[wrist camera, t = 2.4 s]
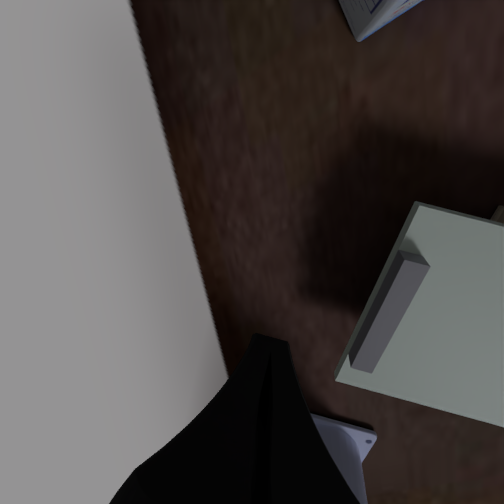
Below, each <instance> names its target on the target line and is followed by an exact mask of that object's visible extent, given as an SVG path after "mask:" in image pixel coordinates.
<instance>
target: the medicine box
mask: <svg viewBox="0 0 504 504" xmlns="http://www.w3.org/2000/svg"><path fill="white" fill-rule="evenodd" d="M421 1H423V0H339V2H340V5H341V7H342V9H343V12H344V14H345V16H346V19H347V21H348V24H349V26H350V28H351V30H352V33H353V35H354V37H355V40H356V41H358V42H360V41H362V40H364V39H365V38H367V37H368V36H370V35H371V34H373V33H374V32H376V31H377V30H379V29H380V28H382V27H383V26H385V25H386V24H388V23H389V22H391V21H392V20H394V19H395V18H397V17H398V16H400V15H401V14H403V13H404V12H406V11H408V10H409V9H411V8H412V7H414V6H415V5H417V4H418V3H420V2H421Z"/></svg>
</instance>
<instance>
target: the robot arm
mask: <svg viewBox="0 0 504 504" xmlns="http://www.w3.org/2000/svg"><path fill="white" fill-rule="evenodd" d="M376 440H377V435H376V432H375V431H372V430H369V429H365V428H362V427H358V426H355V425H351V424H347V423H344V422H340V421H337V420H333V419H329V418H326V417H322V416H319V415H315V414H311V413H310V411H309V409H308V406H307V404H306V401H305V398H304V396H303V393H302V390H301V387H300V384H299V381H298V378H297V375H296V372H295V368H294V364H293V361H292V356H291V352H290V347H289V344H288V342H287V341H283V340H280V339H276V338H272V337H269V336H265V335H261V334H258V333H255V334H253V335H252V339H251V342H250V344H249V346H248V349H247V351H246V352H245V354H244V356H243V358H242V359H241V361H240V363H239V364H238V366H237V367H236V369H235V370H234V372H233V373H232V375H231V376H230V377H229V379H228V380H227V381H226V383H225V384H224V385H223V387H222V388H221V390H220V391H219V392H218V393H217V394H216V395H215V397H214V398H213V399H212V400H211V401H210V402H209V403H208V405H207V406H206V407H205V408H204V409H203V410H202V411H201V412H200V413H199V414H198V415H197V416H196V417H195V418H194V419H193V420H192V421H191V422H190V423H189V424H188V426H186V427H185V428H184V429H183V430H182V431H181V432H180V433H178V434H177V435H176V436H175V437H174V438H173V439H172V440H171V441H169V442H168V443H167V444H166V445H165V446H164V447H163V448H161V449H160V450H159V451H158V452H156V453H155V454H154V455H152V456H151V457H150V458H149V459H147V460H146V461H145V462H143V463H142V464H141V465H139V466H138V467H137V468H136V469H135V470H134V471H133V472H132V474H131V475H130V476H129V477H128V478H127V480H126V481H125V482H124V483H123V485H122V486H121V487H120V489H119V490H118V491H117V493H116V494H115V496H114V497H113V499H112V500H111V502H110V503H109V504H368V503H367V497H366V491H365V484H364V478H363V471H362V465H361V463H362V461H363V460H364V458H365V457H366V455H367V454H368V452H369V450H370V449H371V447H372V446H373V444H374V443H375V441H376Z"/></svg>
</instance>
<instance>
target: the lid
mask: <svg viewBox="0 0 504 504" xmlns="http://www.w3.org/2000/svg"><path fill="white" fill-rule="evenodd" d="M334 374H335V381H338V382H342V383H345V384H349V385H353V386H356V387H360V388H364V389H367V390H371V391H375V392H378V393H382V394H385V395H389V396H393V397H396V398H400V399H404V400H407V401H411V402H415V403H418V404H422V405H425V406H429V407H433V408H436V409H440V410H444V411H447V412H451V413H455V414H458V415H462V416H466V417H469V418H473V419H476V420H480V421H484V422H487V423H491V424H495V425H498V426H502V427H504V223H500V222H496V221H492V220H488V219H484V218H480V217H476V216H472V215H468V214H464V213H460V212H457V211H453V210H449V209H445V208H441V207H437V206H433V205H429V204H425V203H421V202H417V201H415V202H414V204H413V206H412V208H411V210H410V212H409V215H408V217H407V219H406V221H405V223H404V225H403V227H402V229H401V232H400V234H399V236H398V238H397V240H396V242H395V244H394V246H393V249H392V251H391V253H390V255H389V257H388V259H387V261H386V263H385V266H384V268H383V270H382V272H381V274H380V276H379V278H378V280H377V283H376V285H375V287H374V289H373V291H372V293H371V295H370V297H369V300H368V302H367V304H366V306H365V308H364V310H363V312H362V314H361V316H360V319H359V321H358V323H357V325H356V327H355V329H354V331H353V333H352V336H351V338H350V340H349V342H348V344H347V346H346V348H345V350H344V353H343V355H342V357H341V359H340V361H339V363H338V365H337V367H336V370H335V372H334Z"/></svg>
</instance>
